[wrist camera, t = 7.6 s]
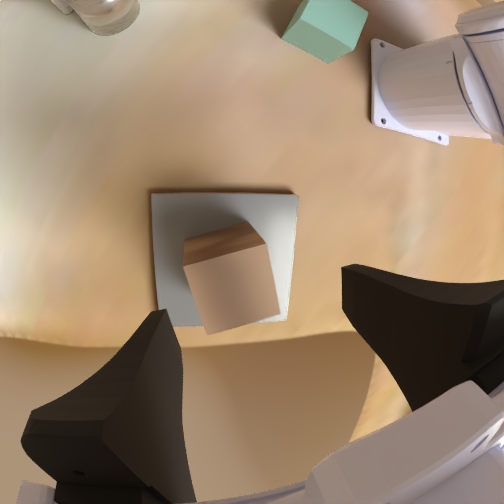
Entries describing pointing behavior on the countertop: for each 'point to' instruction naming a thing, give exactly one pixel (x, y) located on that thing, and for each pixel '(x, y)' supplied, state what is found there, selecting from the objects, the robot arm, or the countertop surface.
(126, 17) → the grey tin
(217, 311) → the walnut block
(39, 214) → the countertop surface
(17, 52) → the countertop surface
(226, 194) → the slate pad
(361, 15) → the teal block
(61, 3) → the medicine box
